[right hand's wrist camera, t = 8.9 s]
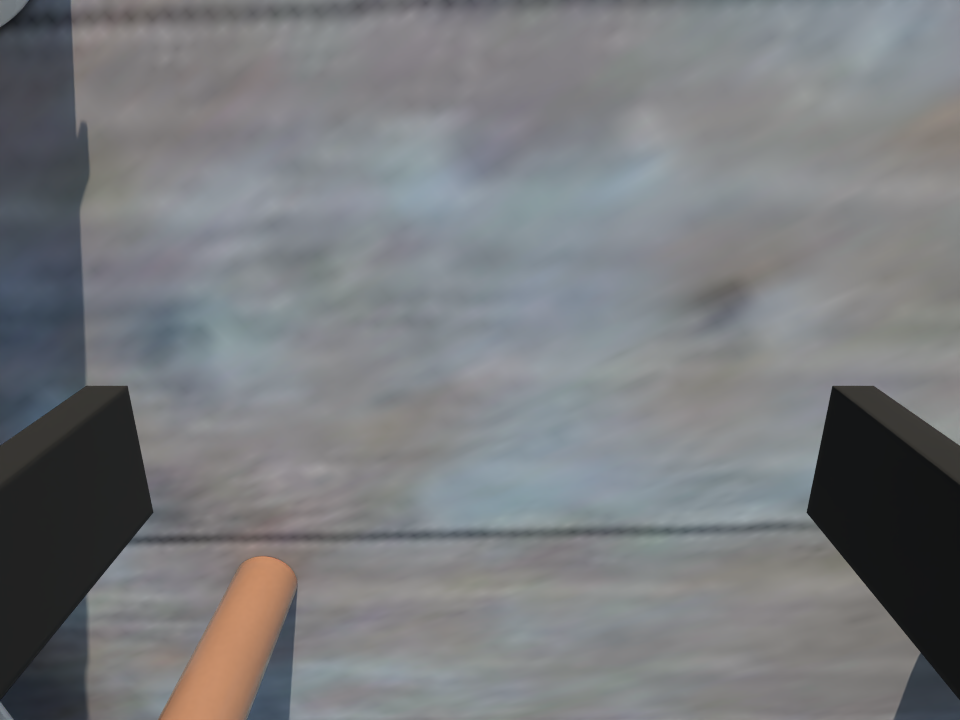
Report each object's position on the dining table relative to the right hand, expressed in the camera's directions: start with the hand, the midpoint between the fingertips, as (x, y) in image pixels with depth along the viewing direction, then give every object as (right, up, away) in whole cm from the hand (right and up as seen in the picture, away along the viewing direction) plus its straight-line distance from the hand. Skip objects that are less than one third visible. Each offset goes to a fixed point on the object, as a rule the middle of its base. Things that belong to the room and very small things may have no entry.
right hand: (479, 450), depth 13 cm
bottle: (-15, -14, +35) cm, 40 cm away
